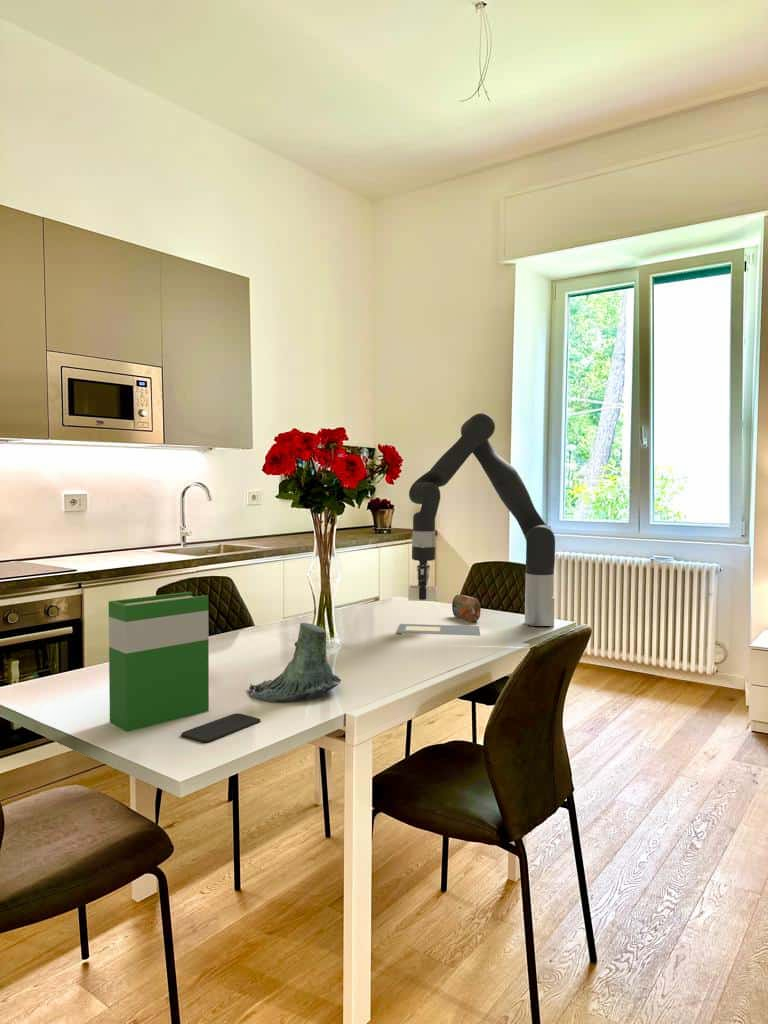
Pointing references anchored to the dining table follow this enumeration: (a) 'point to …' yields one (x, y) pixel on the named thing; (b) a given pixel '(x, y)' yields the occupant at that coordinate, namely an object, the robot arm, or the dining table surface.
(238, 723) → the phone
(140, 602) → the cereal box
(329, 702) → the dining table surface
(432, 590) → the card deck
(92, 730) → the dining table surface
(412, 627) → the mat
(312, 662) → the tree stump
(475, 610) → the tin
